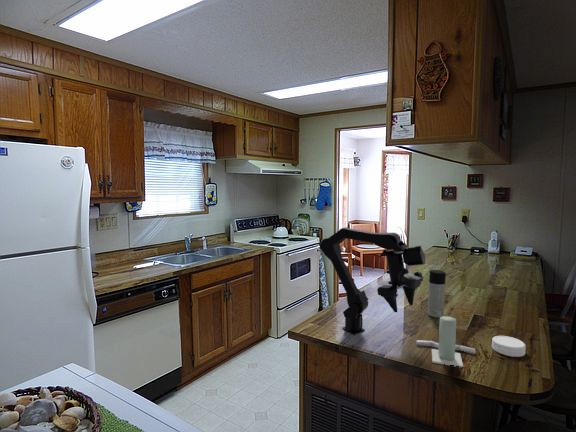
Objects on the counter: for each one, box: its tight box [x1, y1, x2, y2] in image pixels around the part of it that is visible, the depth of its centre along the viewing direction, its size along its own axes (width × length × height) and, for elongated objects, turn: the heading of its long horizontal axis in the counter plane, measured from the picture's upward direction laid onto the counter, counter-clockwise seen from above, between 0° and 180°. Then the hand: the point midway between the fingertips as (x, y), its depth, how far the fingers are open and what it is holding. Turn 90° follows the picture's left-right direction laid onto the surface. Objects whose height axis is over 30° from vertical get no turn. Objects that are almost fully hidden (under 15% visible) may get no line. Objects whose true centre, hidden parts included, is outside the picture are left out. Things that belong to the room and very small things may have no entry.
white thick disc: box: [491, 335, 526, 358], centre depth 122 cm, size 10×10×4 cm
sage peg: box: [438, 315, 457, 361], centre depth 116 cm, size 5×5×13 cm
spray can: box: [427, 269, 447, 319], centre depth 155 cm, size 7×7×20 cm
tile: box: [431, 348, 464, 368], centre depth 116 cm, size 9×9×1 cm
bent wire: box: [415, 339, 476, 355], centre depth 123 cm, size 19×4×2 cm, turn 70°
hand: (403, 308), depth 128 cm, fingers open, 9 cm apart
